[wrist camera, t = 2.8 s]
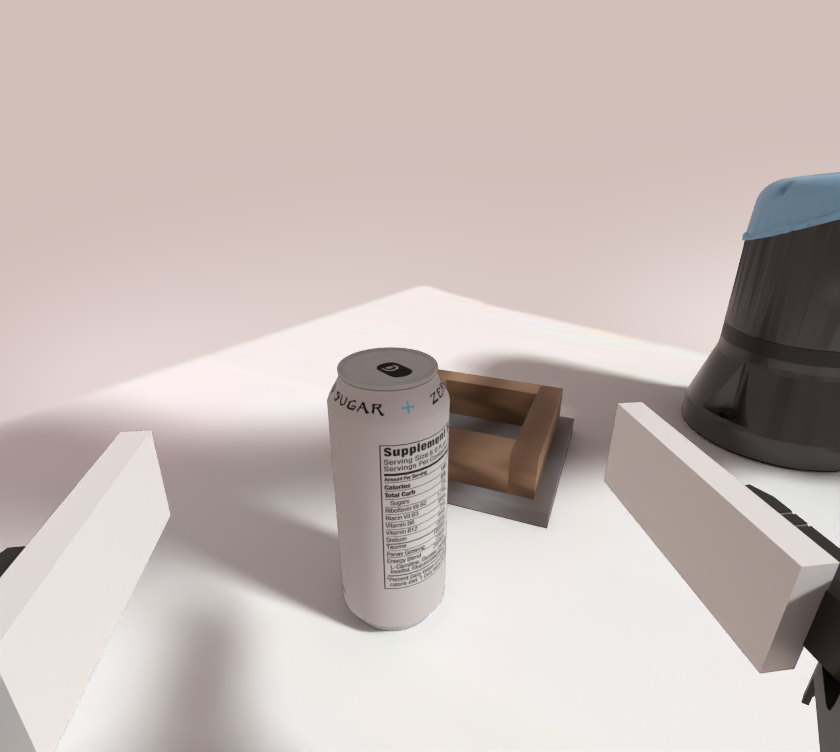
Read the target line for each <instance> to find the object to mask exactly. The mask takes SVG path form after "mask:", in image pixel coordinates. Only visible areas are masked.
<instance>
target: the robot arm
mask: <svg viewBox="0 0 840 752" xmlns="http://www.w3.org/2000/svg"><path fill="white" fill-rule="evenodd" d="M743 240H745V242H744V247H743V251H742V255H741V259H740V263H739V267H738V271H737V275H736V278H735V282H734V286H733V290H732V294H731V297H730V301H729V305H728V309H727V312H726V316H725V321H724V325H723V329H722V333H721V336H720V339H719V342H718V344H717V345H716V347H715V348H714V350H713V351H712V353H711V354H710V356H709V357H708V359H707V360H706V361H705V363H704V364H703V366H702V367H701V369H700V370H699V372H698V373H697V375H696V376H695V378H694V379H693V381H692V382H691V384H690V385H689V387H688V389H687V392H686V395H685V399H684V404H683V408H682V413H683V416H684V418H685V420H686V421H687V423H688V424H689V425H690V426H691V427H692V428H693V429H694V430H695V431H697V432H698V433H699V434H701V435H702V436H704V437H705V438H707V439H708V440H710V441H712V442H714V443H716V444H718V445H720V446H722V447H724V448H726V449H728V450H731V451H733V452H735V453H738V454H741V455H744V456H746V457H749V458H752V459H756V460H759V461H763V462H766V463H770V464H774V465H779V466H784V467H789V468H795V469H803V470H813V471H838V470H840V172H836V173H827V174H817V175H808V176H800V177H792V178H786V179H781V180H778V181H776V182H773V183H772V184H770V185H768V186H767V187H766V188H765V189H763V191H762V192H761V193H760V194H759V196H758V198H757V200H756V203H755V206H754V210H753V213H752V216H751V219H750V222H749V226H748V229H747V232H745V233H744V234H743ZM604 482H605V483H606V484H607V485H608V487H609V488H610V489H611V490H612V492H613V493H614V494H615V495H616V497H617V498H618V499H619V500H620V501H621V503H622V504H623V505H624V506H625V508H626V509H627V510H628V511H629V513H630V514H631V515H632V516H633V517H634V519H635V520H636V521H637V522H638V524H639V525H640V526H641V527H642V529H643V530H644V531H645V532H646V534H647V535H648V536H649V537H650V538H651V540H652V541H653V542H654V543H655V545H656V546H657V547H658V548H659V550H660V551H661V552H662V553H663V554H664V556H665V557H666V558H667V559H668V561H669V562H670V563H671V564H672V566H673V567H674V568H675V569H676V571H677V572H678V573H679V574H680V575H681V577H682V578H683V579H684V580H685V582H686V583H687V584H688V585H689V587H690V588H691V589H692V590H693V591H694V593H695V594H696V595H697V596H698V598H699V599H700V600H701V601H702V603H703V604H704V605H705V606H706V608H707V609H708V610H709V611H710V612H711V614H712V615H713V616H714V617H715V619H716V620H717V621H718V622H719V624H720V625H721V626H722V627H723V629H724V630H725V631H726V632H727V633H728V635H729V636H730V637H731V638H732V640H733V641H734V642H735V643H736V645H737V646H738V647H739V648H740V649H741V651H742V652H743V653H744V654H745V656H746V657H747V658H748V659H749V661H750V662H751V663H752V664H753V666H754V667H755V668H756V669H757V670H758V672H759V673H767V672H774V671H781V670H789V669H794V668H795V666H796V664H797V661H798V659H799V657H800V654H801V652H802V650H803V647H805V648H806V649H807V650H808V651H809V652H810V653H811V654H812V655H813V656H814V657H815V658H816V659H817V661H818V664H817V666H816V668H815V670H814V673H813V675H812V677H811V679H810V681H809V684H808V686H807V688H806V690H805V692H804V695H803V699H802V703H804V704H806V705H809V703H810V701H811V699H812V697H814V696H815V698H816V709H817V720H818V732H819V743H820V752H840V548H838V547H837V546H836V545H835V544H833V543H832V542H831V541H829V540H828V539H827V538H826V537H824V536H823V535H822V534H820V533H819V532H818V531H817V530H815V529H814V528H813V527H812V526H809V527H808V525H807V523H806V522H805V521H804V520H803V519H801V518H800V517H799V516H798V515H796V514H792V511H791V510H790V509H789V508H787V507H786V506H785V505H783V504H782V503H781V502H780V501H778V500H777V499H776V498H775V497H773V496H771V495H769V494H767V493H765V492H763V491H761V490H759V489H757V488H755V487H753V486H751V485H744V484H742V483H741V482H740V481H739V480H737V479H736V478H735V477H734V476H732V475H731V474H730V473H729V472H727V471H726V470H725V469H724V468H723V467H721V466H720V465H719V464H718V463H716V462H715V461H714V460H713V459H711V458H710V457H709V456H708V455H707V454H705V453H704V452H703V451H702V450H700V449H699V448H698V447H697V446H695V445H694V444H693V443H692V442H690V441H689V440H688V439H687V438H686V437H684V436H683V435H682V434H681V433H679V432H678V431H677V430H676V429H674V428H673V427H672V426H671V425H670V424H668V423H667V422H666V421H665V420H663V419H662V418H661V417H660V416H658V415H657V414H656V413H655V412H654V411H652V410H651V409H650V408H649V407H647V406H646V405H645V404H644V403H642V402H632V403H618V405H617V410H616V416H615V421H614V427H613V433H612V438H611V444H610V449H609V455H608V461H607V466H606V472H605V477H604ZM170 515H171V514H170V510H169V505H168V501H167V497H166V492H165V488H164V484H163V479H162V475H161V471H160V466H159V462H158V458H157V453H156V449H155V445H154V440H153V436H152V432H151V430H148V431H131V432H120V433H119V434H118V436H117V437H116V438H115V439H114V440H113V442H112V443H111V444H110V445H109V446H108V448H107V449H106V450H105V451H104V452H103V454H102V455H101V456H100V457H99V459H98V460H97V461H96V462H95V463H94V465H93V466H92V467H91V468H90V469H89V471H88V472H87V473H86V474H85V476H84V477H83V478H82V479H81V480H80V482H79V483H78V484H77V485H76V486H75V488H74V489H73V490H72V491H71V492H70V494H69V495H68V496H67V497H66V499H65V500H64V501H63V502H62V503H61V505H60V506H59V507H58V508H57V509H56V511H55V512H54V513H53V514H52V515H51V517H50V518H49V519H48V520H47V522H46V523H45V524H44V525H43V526H42V528H41V529H40V530H39V531H38V532H37V534H36V535H35V536H34V537H33V539H32V540H31V541H30V542H29V543H28V545H27V546H23V547H11V548H7V549H5V550H4V551H3V552H1V553H0V752H55V750H56V748H57V746H58V744H59V742H60V740H61V738H62V736H63V734H64V732H65V730H66V728H67V726H68V723H69V721H70V719H71V717H72V715H73V713H74V711H75V709H76V707H77V705H78V703H79V701H80V699H81V697H82V695H83V693H84V691H85V689H86V687H87V685H88V683H89V681H90V679H91V677H92V674H93V672H94V670H95V668H96V666H97V664H98V662H99V660H100V658H101V656H102V654H103V652H104V650H105V648H106V646H107V644H108V642H109V640H110V638H111V636H112V634H113V632H114V630H115V628H116V626H117V623H118V621H119V619H120V617H121V615H122V613H123V611H124V609H125V607H126V605H127V603H128V601H129V599H130V597H131V595H132V593H133V591H134V589H135V587H136V585H137V583H138V581H139V579H140V577H141V575H142V572H143V570H144V568H145V566H146V564H147V562H148V560H149V558H150V556H151V554H152V552H153V550H154V548H155V546H156V544H157V542H158V540H159V538H160V536H161V534H162V532H163V530H164V528H165V526H166V524H167V521H168V519H169V517H170Z"/></svg>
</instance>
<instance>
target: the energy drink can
mask: <svg viewBox="0 0 840 752" xmlns="http://www.w3.org/2000/svg"><path fill="white" fill-rule="evenodd" d="M337 371H338V375H339V376H338V378H337V380H336V382H335V384H334V386H333V387H332V389H331V391H330V393H329V396H328V399H327V405H328V417H329V429H330V441H331V453H332V465H333V477H334V489H335V501H336V513H337V525H338V537H339V549H340V560H341V572H342V584H343V594H344V599H345V601H346V604H347V605H348V607H349V608H350V610H351V611H352V612H353V613H354V614H355V615H357V616H358V617H359V618H361V619H362V620H363V621H364V622H365V623H367V624H369V625H370V626H372V627H374V628H377V629H380V630H386V631H399V630H404V629H408V628H411V627H413V626H415V625H417V624H419V623H420V622H422V621H423V620H424V619H425V618H426V617H427V616H428V615H429V614H430V613H431V612H433V611H434V610H435V609H436V607H437V606H438V605H439V603H440V602H441V599H442V597H443V595H444V589H445V565H446V525H447V486H448V447H449V408H450V398H449V393H448V391H447V389H446V388H445V386H444V384H443V382H442V381H441V379H440V377H439V376H438V373H437V371H438V364H437V362H436V360H435V359H434V358H433V357H431V356H430V355H428V354H426V353H423V352H420V351H417V350H412V349H406V348H375V349H368V350H364V351H359V352H356V353H354V354H351V355H349V356H347V357H345V358H344V359H343V360H341V362H340V363H339V364H338V367H337Z"/></svg>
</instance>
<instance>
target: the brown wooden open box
mask: <svg viewBox="0 0 840 752" xmlns="http://www.w3.org/2000/svg"><path fill="white" fill-rule="evenodd" d="M437 373H438V376H439V377H440V379H441V381H442V382H443V384H444V386H445V388H446V389H447V391H448V393H449V398H450V408H449V447H448V486H447V503H449V504H453V505H457V506H461V507H465V508H469V509H473V510H477V511H481V512H485V513H489V514H493V515H497V516H501V517H505V518H509V519H513V520H517V521H521V522H525V523H529V524H533V525H537V526H541V527H545V528H547V526H548V522H549V518H550V514H551V510H552V506H553V503H554V499H555V495H556V491H557V487H558V483H559V480H560V476H561V472H562V468H563V464H564V460H565V456H566V453H567V449H568V445H569V441H570V437H571V433H572V429H573V422H574V419H571V418H565V417H560V416H559V415H560V407H561V399H562V391H563V389H561V388H555V387H548V386H542V385H535V384H529V383H522V382H516V381H510V380H503V379H497V378H490V377H484V376H477V375H471V374H464V373H458V372H452V371H445V370H439V369H438V371H437Z"/></svg>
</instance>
